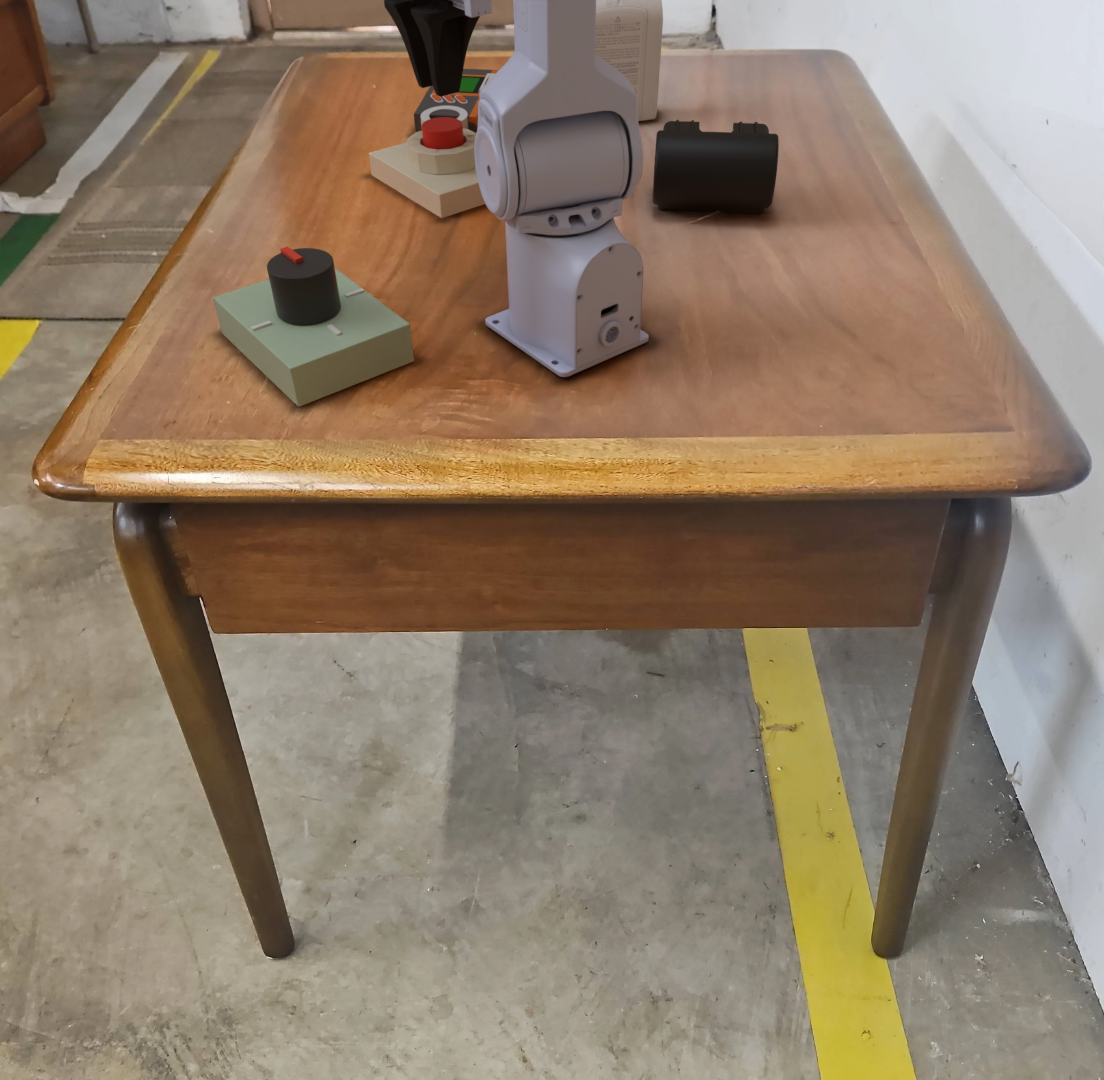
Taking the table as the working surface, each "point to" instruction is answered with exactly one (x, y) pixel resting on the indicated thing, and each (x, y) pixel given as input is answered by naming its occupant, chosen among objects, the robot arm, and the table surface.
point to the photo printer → (632, 46)
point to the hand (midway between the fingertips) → (439, 89)
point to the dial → (304, 286)
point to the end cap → (715, 168)
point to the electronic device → (455, 101)
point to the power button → (442, 133)
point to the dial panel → (316, 340)
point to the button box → (431, 174)
